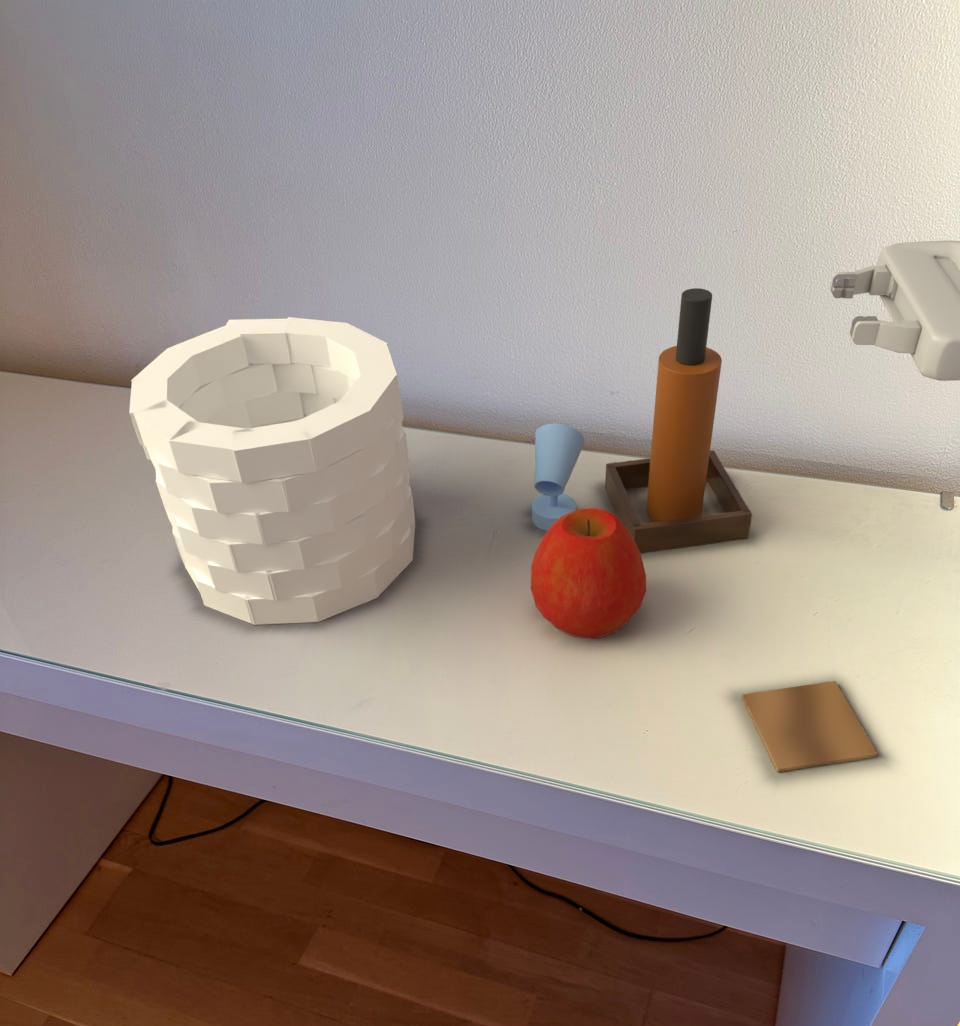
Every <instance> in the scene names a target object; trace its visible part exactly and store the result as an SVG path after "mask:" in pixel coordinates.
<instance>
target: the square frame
mask: <svg viewBox="0 0 960 1026" xmlns="http://www.w3.org/2000/svg"><path fill="white" fill-rule="evenodd" d="M650 458H651V457H649V458H641V459H633V460H626V461H618V462H617V461H616V462H610V463H609V462H608V463H606V464H605V478H604V479H605V480H604V481H605V482H604V488H605V491H606V493H607V496H608V499H609V500H610V502H611V505H612V508H613V510H614V512H615V515H616V516H617V517H618V518H619V519H620V521H621V522H622V523H623V524H624V526H625V527H626V528H627V529H628V531H629V532H630V534H631V536H632V537H633V539H634V541H635V543H636V545H637V547H638V549H639V551H640V553H641V554H644V553H651V552H652V553H653V552H660V551H668V550H673V549H681V548H689V547H695V546H703V545H710V544H711V545H712V544H718V543H725V542H733V541H741V540H748V539H749V535H750V531H751V530H750V529H751V524H752V518H753V513H752V511H751V510H750V508H749V506H748V504H747V503H746V501H745V500H744V498H743V496H742V495H741V493H740V491H739V489H738V488H737V486H736V485H735V483H734V481H733V480H732V478H731V477H730V475H729V473H728V471H727V469H726V468H725V467H724V465H723V463H722V461H721V460H720V458H719V457H718V455H717V453H716V452H715V450H713V449H712V450H711V449H710V454H709V462H708V470H707V477H706V482H707V484H708V486H709V487H710V488H711V490H712V492H713V494H714V496H715V498H716V499H717V501H718V502H719V504H720V507H721V508H722V510H723V511H724V512H720V513H713V514H705V515H701V516H697V517H689V518H682V519H674V520H667V521H659V522H652V521H651V522H645V523H641V521H640V519H639V517H638V514H637V512H636V510H635V508H634V505H633V503H632V501H631V499H630V497H629V495H628V491H627V490H631V489H638V488H645V487H646V488H647V487H648V482H649V470H650Z"/></svg>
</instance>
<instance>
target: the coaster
mask: <svg viewBox="0 0 960 1026" xmlns="http://www.w3.org/2000/svg"><path fill="white" fill-rule="evenodd" d="M741 699H742V701H743V703H744V705H745V707H746V710H747V711H748V714H749V716H750V718H751V720H752V722H753V725H754V727H755V728H756V730H757V733H758V735H759V737H760V739H761V741H762V743H763V746H764V747H765V749H766V751H767V753H768V756H769V758H770V759H771V762H772V764H773V766H774V768H775V770H776V772H777V773H782V772H788V771H789V772H790V771H795V770H801V769H808V768H814V767H815V768H816V767H821V766H828V765H835V764H842V763H848V762H853V761H861V760H866V759H873V758H878V755H879V753H878V751H877V750H876V748H875V746H874V744H873V743H872V741H871V739H870V737H869V735H868V734H867V733H866V731H865V729H864V727H863V726H862V723H861V722H860V720H859V719H858V717H857V715H856V713H855V711H854V710H853V709H852V707H851V705H850V703H849V702H848V700H847V698H846V696H845V695H844V693H843V691H842V690H841V688H840V686H839V684H838V683H837V681H836V680H833V681H826V682H825V681H824V682H819V683H812V684H804V685H798V686H791V687H785V688H778V689H770V690H763V691H757V692H750V693H743V694H742V695H741Z"/></svg>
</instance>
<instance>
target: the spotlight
mask: <svg viewBox="0 0 960 1026" xmlns="http://www.w3.org/2000/svg"><path fill="white" fill-rule="evenodd" d="M584 445H585V437H584V435H583V434H582V432H580V431H579V430H577V429H576V428H574V427H572V426H571V425H566V424H563V423H547V424H543V425H541V426H539V427H538V428H537V429H536V431H535V432H534V489H535V491H537V492H538V493H539V494H541V495H539V496H537V497H536V498H534V500H533V501H532V503H531V521H532V523H533V525H534V526H535V527H537V528H538V529H539V530H542V531H546V532H547V531H548V530H549V528H550V527H551V526H552V525H553V524H554V523H555V522H556V521H557V520H558V519H559V518H560V517H561V516H564V515H566V514H568V513H570V512H573V511H575V510H577V503H576V501H575V499H574V498H573V497H571V496H570V495H568V494H566V493H564V492H565V490H566V487H567V485H568V482H569V480H570V478H571V475H572V473H573V472H574V468H575V467H576V464H577V462H578V459H579V456H580V454H581V452H582V449H583V447H584Z"/></svg>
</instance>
